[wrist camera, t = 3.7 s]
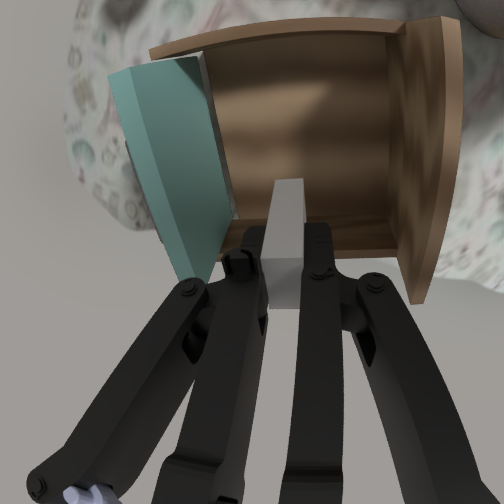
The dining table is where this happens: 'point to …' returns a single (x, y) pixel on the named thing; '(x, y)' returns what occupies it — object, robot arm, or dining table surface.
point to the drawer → (342, 128)
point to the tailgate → (175, 160)
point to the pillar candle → (485, 15)
